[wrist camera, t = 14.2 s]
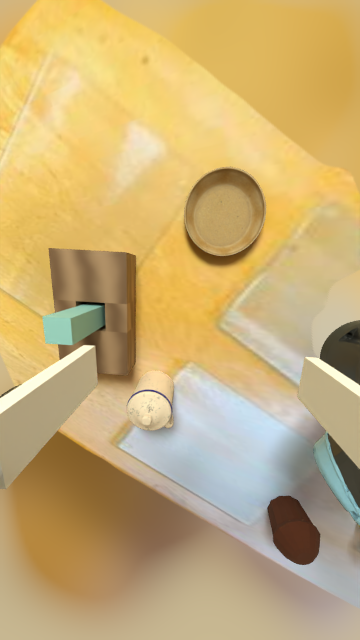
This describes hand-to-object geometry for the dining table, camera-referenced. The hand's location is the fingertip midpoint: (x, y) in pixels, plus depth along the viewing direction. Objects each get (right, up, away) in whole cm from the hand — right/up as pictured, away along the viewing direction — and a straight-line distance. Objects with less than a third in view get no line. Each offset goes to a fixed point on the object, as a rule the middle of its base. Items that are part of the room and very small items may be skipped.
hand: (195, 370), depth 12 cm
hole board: (-18, +5, +31) cm, 36 cm away
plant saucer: (+7, +23, +26) cm, 35 cm away
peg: (-18, +5, +29) cm, 34 cm away
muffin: (+28, -49, +42) cm, 71 cm away
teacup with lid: (-6, -14, +35) cm, 38 cm away
